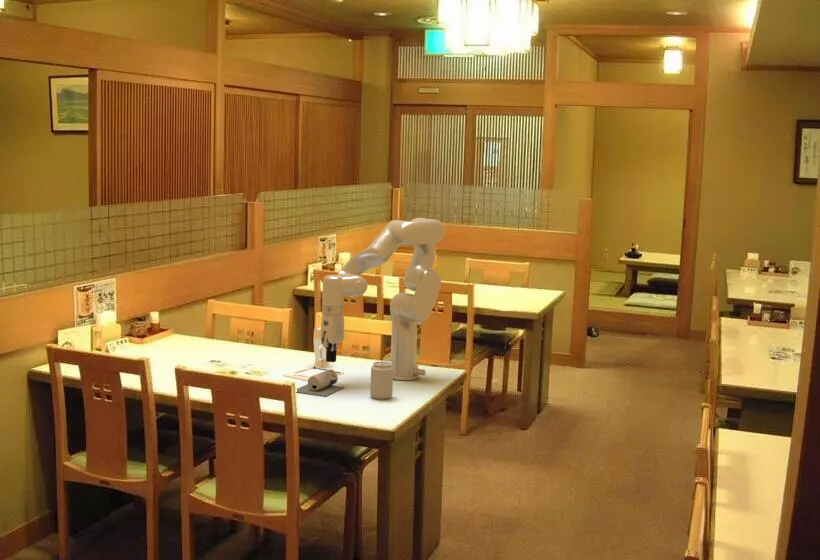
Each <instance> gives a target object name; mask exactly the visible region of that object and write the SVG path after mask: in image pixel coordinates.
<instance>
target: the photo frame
mask: <svg viewBox="0 0 820 560" xmlns="http://www.w3.org/2000/svg"><path fill="white" fill-rule="evenodd" d="M317 368H319V367H315V368H314V366H311V367H308V368H307V367H306V368H303V369H300V370H296V371H291V372H288V373H285V374H282V376H283V377H285V378H291V379H295V380H300V381H304V382H308V380H309V378H310V377H311V376H312V375H308V374H302V372H306V371H310V370H313V369H317ZM309 369H310V370H309ZM322 369H325V370H324V371H327V370H330V369H329V368H328V369H327V368H319V369H318V370H322ZM335 371H336V373H337V372H340V373H337V375H339V376H341V374H342V375H344V374H345V371H344V372H343V371H340V370H335Z"/></svg>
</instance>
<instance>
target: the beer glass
mask: <svg viewBox="0 0 820 560" xmlns="http://www.w3.org/2000/svg"><path fill="white" fill-rule="evenodd" d="M312 341H313V349H314V355H315V356H314V358H315V359H314V364H313V367H314V366H315V367H319V368H324V369H326V368H325V367H328V368H330V367H329V366H331V362H327V361H326V347H323V343H322V342H321V326H317V327H316V326H315V327H314V328H313V340H312ZM328 342H329V341H328Z"/></svg>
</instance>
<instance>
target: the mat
mask: <svg viewBox="0 0 820 560" xmlns="http://www.w3.org/2000/svg"><path fill="white" fill-rule="evenodd" d="M296 389H297V394H303V395H311V396H318V397H324V398H326V397H329V396H331V395H333V394H335V393H337V392H339V391H341V390H343V389H345V386H339V385H335V384H333V385H330V386H328V387H325V388H323V389H320V390H317V391H313V390H311V389H310V388H309V386H308V383H307V384H305V385H303V386H300V387H298V388H296Z"/></svg>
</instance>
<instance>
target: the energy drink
mask: <svg viewBox="0 0 820 560" xmlns="http://www.w3.org/2000/svg"><path fill="white" fill-rule="evenodd" d="M335 371H336V370H333V369H329V370H324V371H322V372H319V373H317V374H314V375H310V376H311V377H310V378H309V380H308V381H307V384H308V386H309V388H310V389H311V390H313V391H317V390H320V389H323V388H325V387H328V386H330V385H335V384H336V383H337V382H338V381H339V380H338V379H339V377H338V375H337V374H338V373H337V372H335Z"/></svg>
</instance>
